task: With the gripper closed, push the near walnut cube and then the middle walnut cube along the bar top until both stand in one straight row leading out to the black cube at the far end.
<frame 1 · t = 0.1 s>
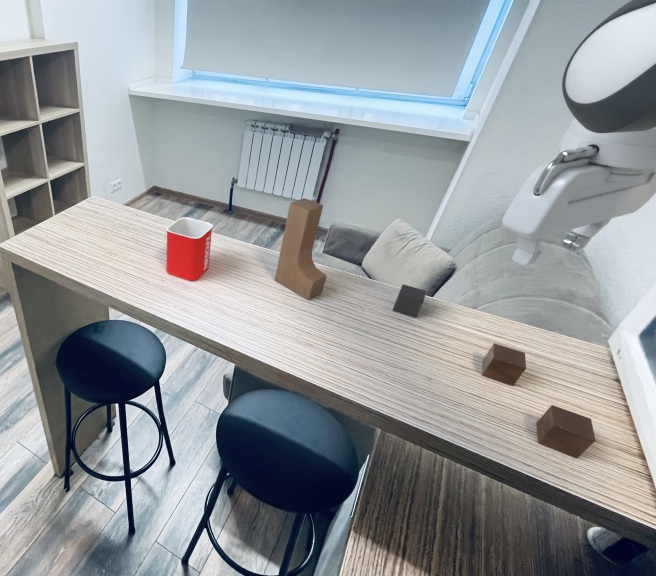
hand: (547, 254, 51), 23 cm above the table, tool pointing down, fingers open, 8 cm apart
mug: (191, 266, 94), on the table
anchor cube: (405, 309, 79), on the table
middle cube: (497, 373, 65), on the table
wooden block: (297, 287, 86), on the table
near cube: (555, 440, 55), on the table
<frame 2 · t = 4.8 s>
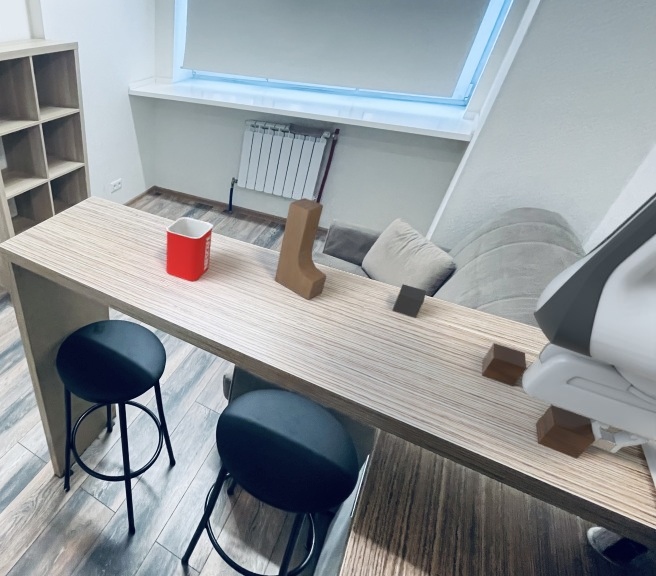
hand: (598, 444, 53), 2 cm above the table, tool pointing down, fingers closed
near cube: (555, 440, 55), on the table, touching gripper
everything else where it was.
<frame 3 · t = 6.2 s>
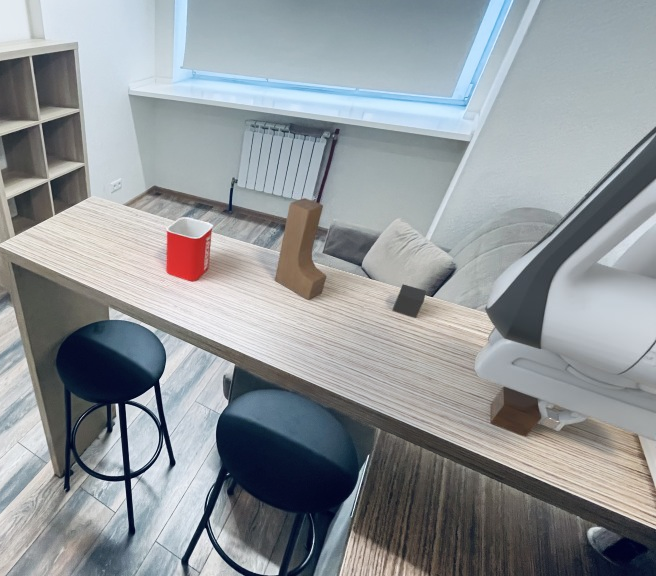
hand: (545, 423, 55), 2 cm above the table, tool pointing down, fingers closed
near cube: (507, 420, 58), on the table, touching gripper
everything else where it was.
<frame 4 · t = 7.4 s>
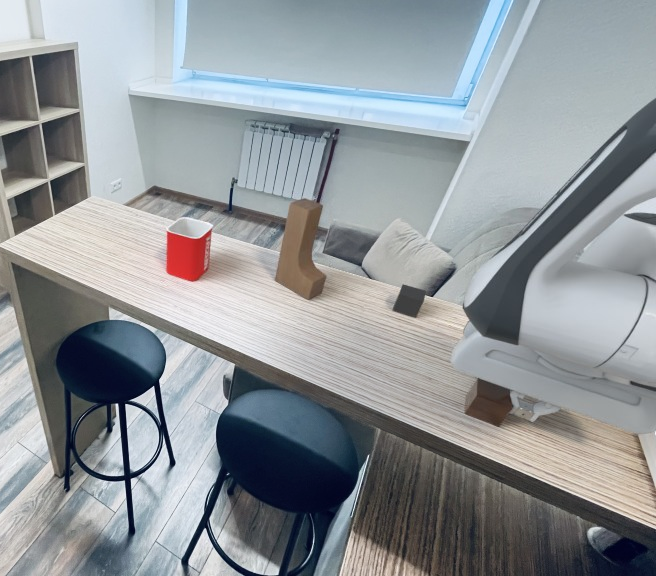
hand: (519, 414, 57), 2 cm above the table, tool pointing down, fingers closed
near cube: (481, 410, 59), on the table, touching gripper
everything else where it was.
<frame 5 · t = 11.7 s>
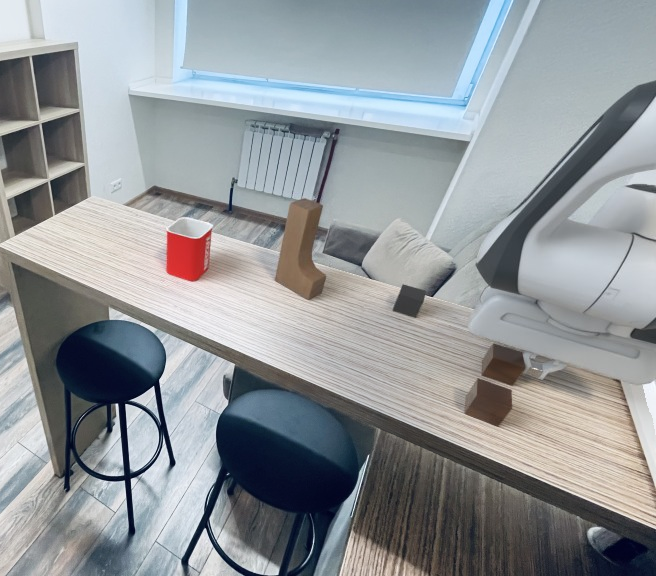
hand: (530, 373, 63), 2 cm above the table, tool pointing down, fingers closed
middle cube: (496, 373, 65), on the table, touching gripper
near cube: (481, 410, 59), on the table
everything else where it was.
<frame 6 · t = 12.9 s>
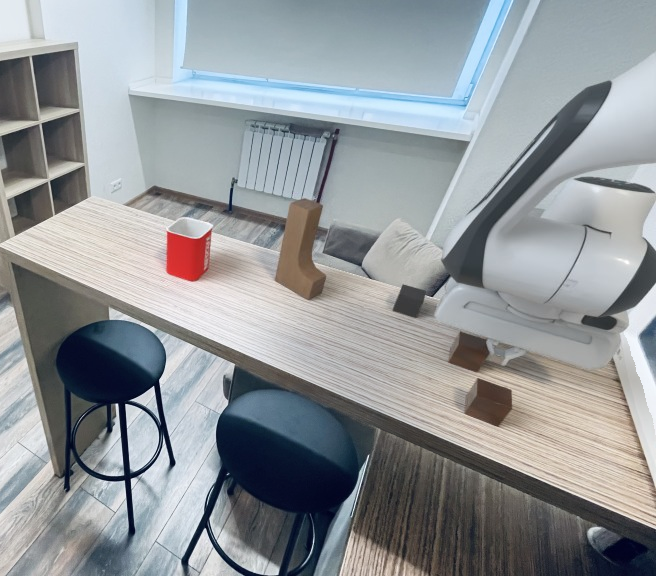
hand: (494, 360, 65), 2 cm above the table, tool pointing down, fingers closed
middle cube: (463, 360, 68), on the table, touching gripper
everything else where it was.
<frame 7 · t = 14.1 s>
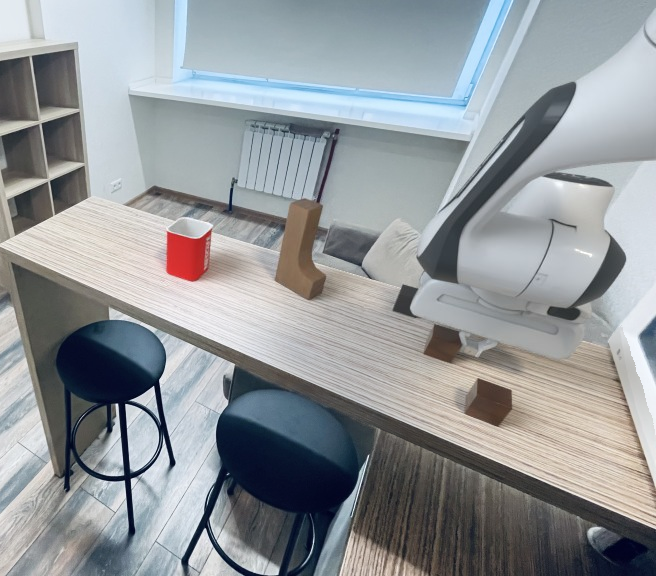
hand: (467, 352, 67), 2 cm above the table, tool pointing down, fingers closed
middle cube: (437, 352, 69), on the table, touching gripper
everything else where it was.
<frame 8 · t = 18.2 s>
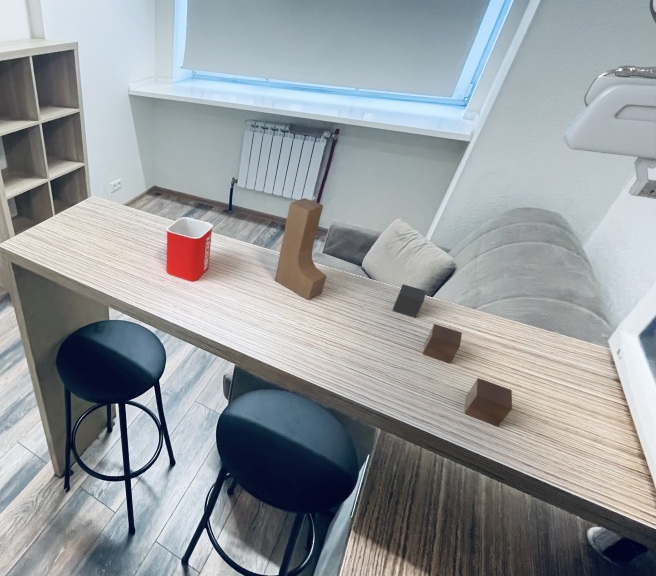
hand: (645, 196, 50), 29 cm above the table, tool pointing down, fingers closed
middle cube: (437, 352, 69), on the table
everything else where it was.
at the end: near cube 0.4 cm from the target spot on the table beside the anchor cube, on the table; middle cube 0.4 cm from the target spot on the table beside the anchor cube, on the table; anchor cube moved 0.0 cm from its start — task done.
